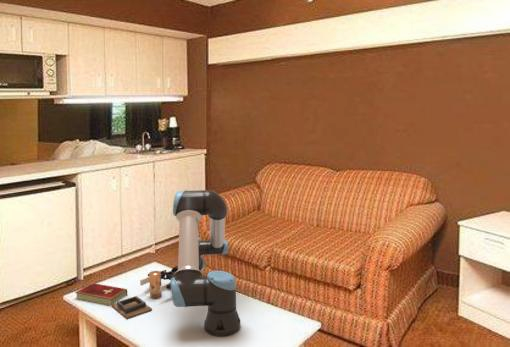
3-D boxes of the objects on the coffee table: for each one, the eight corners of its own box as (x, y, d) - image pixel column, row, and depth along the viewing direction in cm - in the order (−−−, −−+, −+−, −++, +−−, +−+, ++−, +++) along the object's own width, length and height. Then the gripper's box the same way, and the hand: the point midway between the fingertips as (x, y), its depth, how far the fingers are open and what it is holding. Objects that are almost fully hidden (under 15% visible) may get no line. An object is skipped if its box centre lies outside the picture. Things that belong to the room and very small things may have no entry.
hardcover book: (93, 289, 216) (92, 282, 215) (127, 296, 209) (127, 288, 208) (75, 299, 205) (75, 291, 204) (111, 306, 198) (110, 298, 197)
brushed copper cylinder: (163, 296, 207) (162, 273, 205) (153, 300, 204) (152, 276, 202) (158, 293, 211) (157, 269, 209) (148, 296, 208) (147, 272, 206)
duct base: (151, 310, 193) (151, 304, 192) (126, 319, 185) (126, 312, 185) (135, 298, 205) (135, 292, 204) (111, 306, 197) (111, 300, 197)
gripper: (199, 284, 215) (169, 299, 198) (164, 273, 229) (133, 287, 211) (199, 269, 214) (169, 284, 196) (164, 260, 228) (132, 273, 210)
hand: (150, 286), depth 204 cm, fingers open, 13 cm apart
